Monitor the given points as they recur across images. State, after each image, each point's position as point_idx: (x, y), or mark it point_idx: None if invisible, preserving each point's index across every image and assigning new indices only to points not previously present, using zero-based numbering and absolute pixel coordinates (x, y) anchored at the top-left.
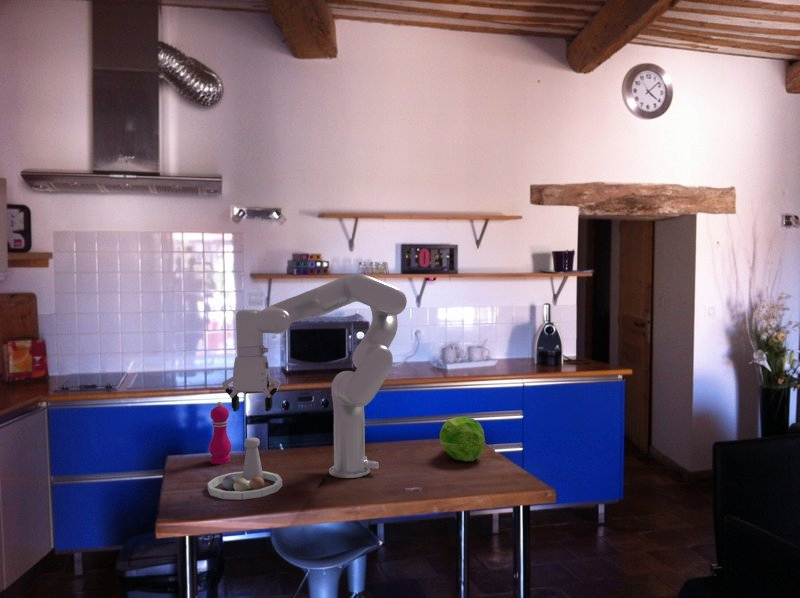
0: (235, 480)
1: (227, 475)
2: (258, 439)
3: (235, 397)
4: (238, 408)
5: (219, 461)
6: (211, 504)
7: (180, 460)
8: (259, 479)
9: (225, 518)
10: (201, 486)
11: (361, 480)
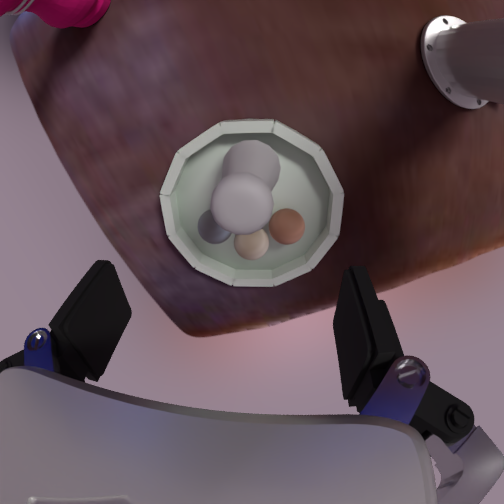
0: (238, 251)
1: (180, 171)
2: (268, 201)
3: (87, 370)
4: (114, 280)
5: (91, 22)
6: None
7: (22, 43)
8: (296, 240)
9: (269, 324)
10: (134, 181)
11: (483, 122)
